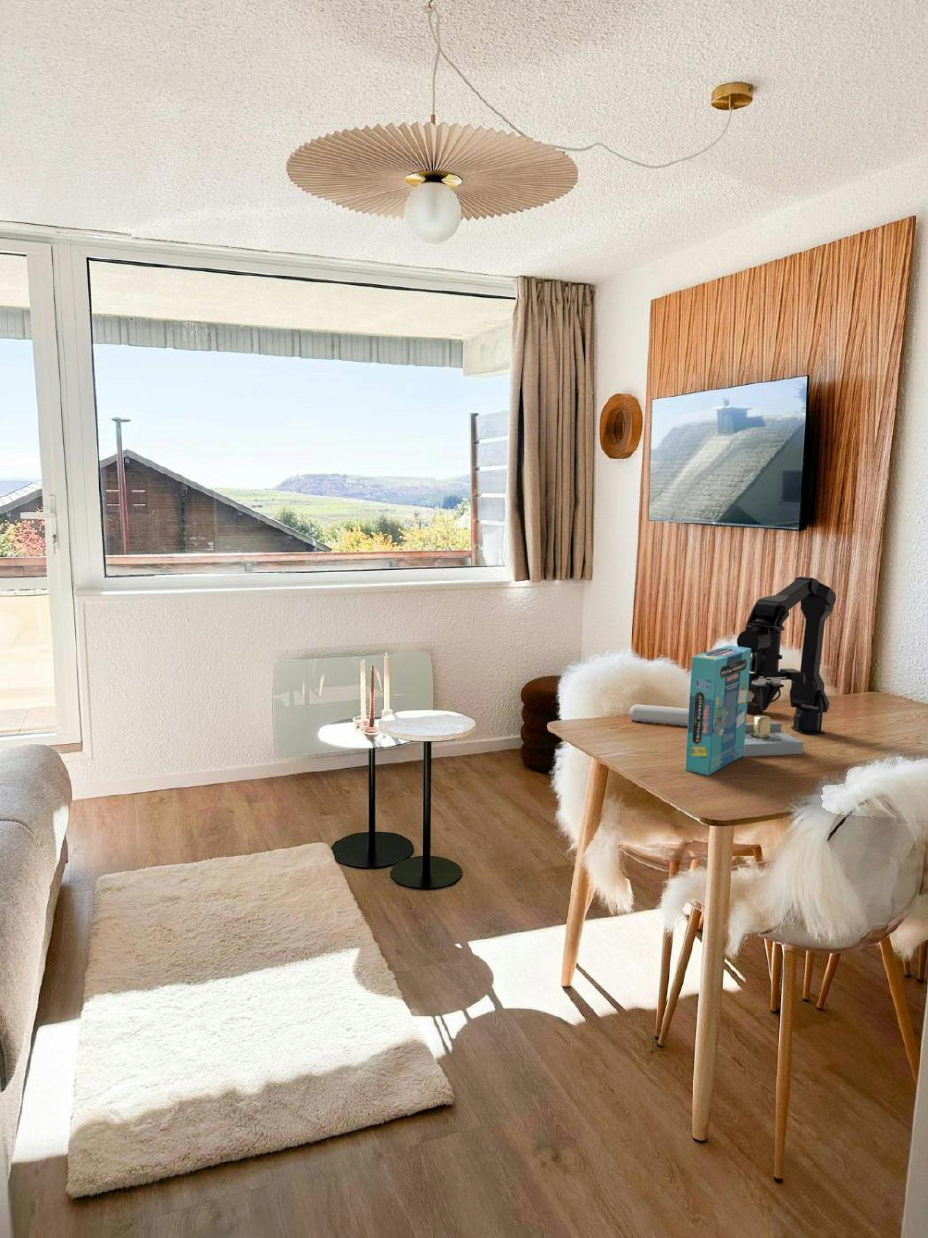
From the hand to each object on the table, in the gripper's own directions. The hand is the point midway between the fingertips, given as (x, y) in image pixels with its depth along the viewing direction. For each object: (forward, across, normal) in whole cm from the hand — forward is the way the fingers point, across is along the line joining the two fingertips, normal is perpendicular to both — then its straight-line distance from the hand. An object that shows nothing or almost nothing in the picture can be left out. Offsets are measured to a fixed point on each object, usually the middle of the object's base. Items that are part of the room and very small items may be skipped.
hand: (763, 710), depth 219 cm
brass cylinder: (+10, 0, 0) cm, 10 cm away
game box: (+10, +18, +10) cm, 23 cm away
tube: (+10, +12, -25) cm, 29 cm away
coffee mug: (+10, -18, -33) cm, 39 cm away
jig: (+10, 0, 0) cm, 10 cm away
